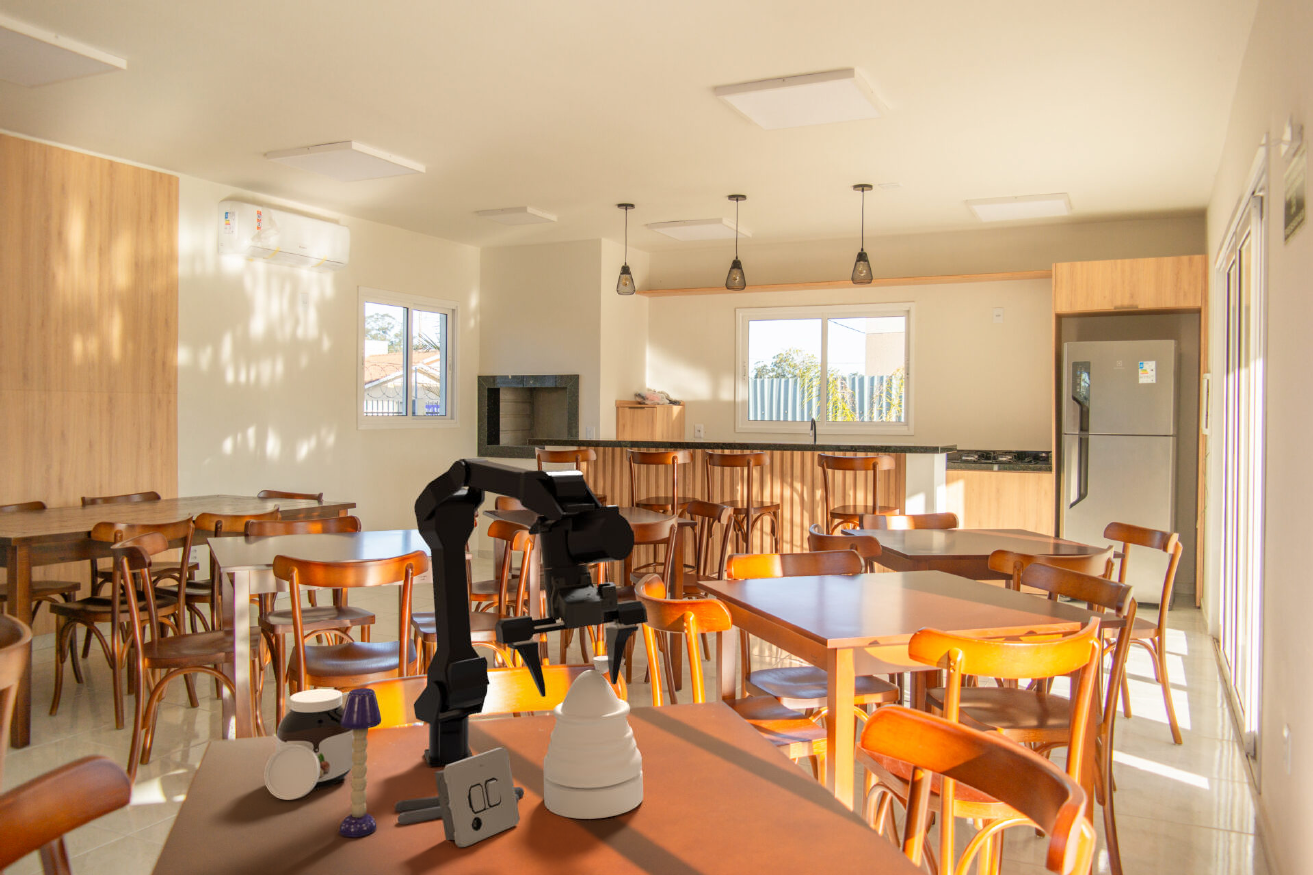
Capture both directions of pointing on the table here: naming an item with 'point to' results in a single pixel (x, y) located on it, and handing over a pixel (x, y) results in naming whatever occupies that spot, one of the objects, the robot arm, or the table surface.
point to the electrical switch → (477, 797)
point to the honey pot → (592, 752)
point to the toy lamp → (359, 758)
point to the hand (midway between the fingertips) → (579, 690)
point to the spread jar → (310, 746)
